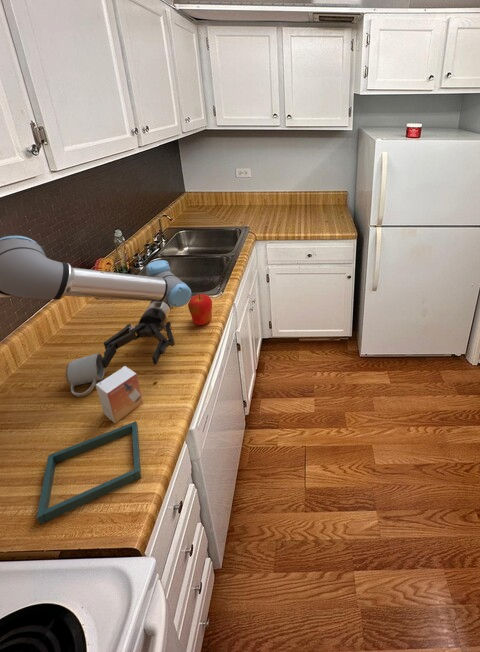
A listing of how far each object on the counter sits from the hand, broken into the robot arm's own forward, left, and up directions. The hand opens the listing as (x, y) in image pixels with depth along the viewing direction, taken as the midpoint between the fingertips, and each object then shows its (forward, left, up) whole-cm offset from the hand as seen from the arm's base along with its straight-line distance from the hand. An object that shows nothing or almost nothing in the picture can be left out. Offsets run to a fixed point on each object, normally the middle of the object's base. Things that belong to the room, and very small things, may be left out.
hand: (129, 362), depth 94 cm
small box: (-3, -7, -9) cm, 12 cm away
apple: (+24, +22, -9) cm, 33 cm away
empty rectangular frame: (-9, -22, -9) cm, 25 cm away
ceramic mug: (-12, +8, -9) cm, 17 cm away
